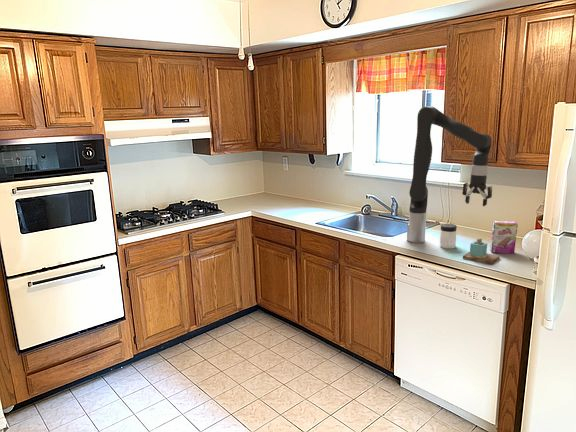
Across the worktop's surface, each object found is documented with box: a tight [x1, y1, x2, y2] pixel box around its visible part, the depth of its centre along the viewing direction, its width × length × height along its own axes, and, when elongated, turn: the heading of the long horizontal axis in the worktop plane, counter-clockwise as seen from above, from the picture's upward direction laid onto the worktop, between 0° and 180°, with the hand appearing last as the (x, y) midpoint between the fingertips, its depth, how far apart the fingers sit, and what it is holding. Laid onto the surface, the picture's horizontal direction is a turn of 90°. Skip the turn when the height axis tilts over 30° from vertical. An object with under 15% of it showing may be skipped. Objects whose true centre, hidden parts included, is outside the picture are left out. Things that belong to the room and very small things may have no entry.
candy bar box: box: [489, 220, 519, 255], centre depth 227 cm, size 11×5×16 cm, turn 75°
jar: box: [439, 223, 458, 250], centre depth 240 cm, size 9×8×12 cm
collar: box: [469, 240, 488, 257], centre depth 220 cm, size 6×6×6 cm
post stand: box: [462, 238, 501, 265], centre depth 219 cm, size 14×11×10 cm
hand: (475, 204), depth 228 cm, fingers open, 8 cm apart
